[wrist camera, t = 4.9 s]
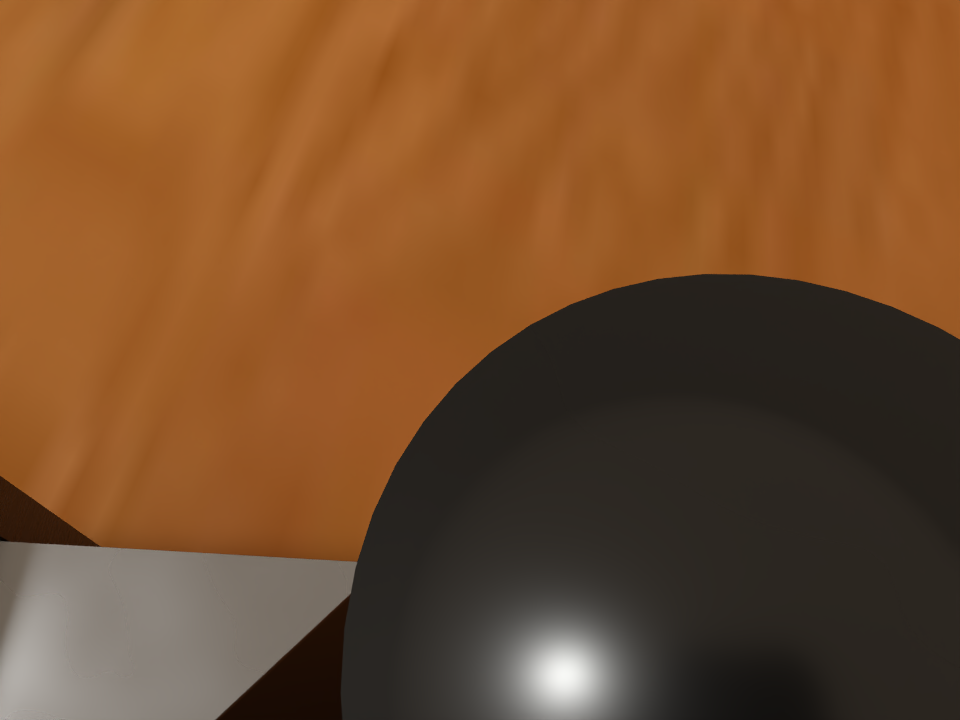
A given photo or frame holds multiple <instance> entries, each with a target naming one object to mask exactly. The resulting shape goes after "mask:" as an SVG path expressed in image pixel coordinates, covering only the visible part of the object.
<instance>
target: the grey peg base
mask: <svg viewBox="0 0 960 720" xmlns="http://www.w3.org/2000/svg"><path fill="white" fill-rule="evenodd" d="M350 594H351V595H350ZM349 595H350V600H349V606H348V611H347V616H346V622H345V627H344V643H343V661H342V678H341V705H342V720H960V339H958V338H956V337H954V336H952V335H951V334H949V333H947V332H945V331H944V330H942V329H940V328H938V327H936V326H934V325H931V324H929V323H927V322H925V321H923V320H920V319H918V318H916V317H914V316H911V315H909V314H907V313H905V312H902V311H900V310H898V309H896V308H893V307H891V306H888V305H885V304H882V303H879V302H876V301H873V300H870V299H867V298H864V297H861V296H858V295H855V294H852V293H849V292H846V291H842V290H838V289H834V288H829V287H825V286H820V285H816V284H812V283H807V282H803V281H798V280H791V279H782V278H774V277H765V276H757V275H729V274H701V275H692V276H682V277H673V278H663V279H656V280H652V281H647V282H643V283H638V284H634V285H629V286H625V287H621V288H616V289H612V290H610V291H607V292H604V293H601V294H599V295H596V296H593V297H590V298H587V299H585V300H582V301H579V302H576V303H573V304H571V305H569V306H567V307H565V308H563V309H561V310H559V311H557V312H555V313H553V314H551V315H549V316H547V317H545V318H543V319H541V320H539V321H537V322H535V323H533V324H531V325H530V326H528V327H527V328H525V329H524V330H522V331H521V332H519V333H518V334H517V335H515V336H514V337H512V338H511V339H509V340H508V341H506V342H505V343H503V344H502V345H500V346H499V347H498V348H496V349H495V350H493V351H492V352H491V353H489V354H488V355H487V356H486V357H485V358H484V359H483V360H482V361H481V362H479V363H478V364H477V365H476V366H475V367H474V368H473V369H472V370H471V371H469V372H468V373H467V374H466V375H465V376H464V377H463V378H462V379H461V380H459V381H458V382H457V383H456V384H455V385H454V387H453V388H452V389H451V390H450V391H449V392H448V394H447V395H446V396H445V397H444V398H443V399H442V401H441V402H440V403H439V404H438V405H437V407H436V408H435V409H434V410H433V411H432V412H431V414H430V415H429V416H428V417H427V418H426V419H425V421H424V422H423V424H422V425H421V427H420V428H419V430H418V431H417V433H416V434H415V436H414V437H413V439H412V441H411V442H410V444H409V445H408V447H407V448H406V450H405V451H404V453H403V455H402V456H401V458H400V459H399V461H398V462H397V464H396V466H395V468H394V470H393V472H392V474H391V476H390V478H389V481H388V483H387V485H386V487H385V489H384V491H383V493H382V495H381V498H380V500H379V502H378V504H377V506H376V508H375V510H374V512H373V515H372V518H371V521H370V524H369V527H368V531H367V534H366V537H365V540H364V543H363V546H362V549H361V552H360V555H359V559H358V562H348V561H331V560H314V559H296V558H279V557H262V556H245V555H228V554H211V553H193V552H176V551H159V550H142V549H125V548H108V547H90V546H73V545H56V544H39V543H22V542H4V541H0V720H215V719H216V718H217V717H218V716H219V715H221V714H222V713H223V712H224V711H225V710H226V709H227V708H228V707H229V706H230V705H231V704H232V703H233V702H235V701H236V700H237V699H238V698H239V697H240V696H241V695H242V694H243V693H244V692H245V691H246V690H247V689H249V688H250V687H251V686H252V685H253V684H254V683H255V682H256V681H257V680H258V679H259V678H260V677H261V676H262V675H264V674H265V673H266V672H267V671H268V670H269V669H270V668H271V667H272V666H273V665H274V664H275V663H276V662H278V661H279V660H280V659H281V658H282V657H283V656H284V655H285V654H286V653H287V652H288V651H289V650H290V649H292V648H293V647H294V646H295V645H296V644H297V643H298V642H299V641H300V640H301V639H302V638H303V637H304V636H305V635H307V634H308V633H309V632H310V631H311V630H312V629H313V628H314V627H315V626H316V625H317V624H318V623H319V622H321V621H322V620H323V619H324V618H325V617H326V616H327V615H328V614H329V613H330V612H331V611H332V610H333V609H335V608H336V607H337V606H338V605H339V604H340V603H341V602H342V601H343V600H344V599H345V598H346V597H347V596H349Z"/></svg>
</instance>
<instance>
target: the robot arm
mask: <svg viewBox="0 0 960 720" xmlns="http://www.w3.org/2000/svg"><path fill="white" fill-rule="evenodd" d="M350 595H351V594H350ZM350 595H349V596H347V597H346V598H345V599H344V600H343V601H342V602H341V603H340V604H339V605H338V606H337V607H336V608H335V609H333V610H332V611H331V612H330V613H329V614H328V615H327V616H326V617H325V618H324V619H323V620H322V621H321V622H319V623H318V624H317V625H316V626H315V627H314V628H313V629H312V630H311V631H310V632H309V633H308V634H307V635H305V636H304V637H303V638H302V639H301V640H300V641H299V642H298V643H297V644H296V645H295V646H294V647H293V648H292V649H290V650H289V651H288V652H287V653H286V654H285V655H284V656H283V657H282V658H281V659H280V660H279V661H278V662H276V663H275V664H274V665H273V666H272V667H271V668H270V669H269V670H268V671H267V672H266V673H265V674H264V675H262V676H261V677H260V678H259V679H258V680H257V681H256V682H255V683H254V684H253V685H252V686H251V687H250V688H249V689H247V690H246V691H245V692H244V693H243V694H242V695H241V696H240V697H239V698H238V699H237V700H236V701H235V702H233V703H232V704H231V705H230V706H229V707H228V708H227V709H226V710H225V711H224V712H223V713H222V714H221V715H219V716H218V717H217V718H216V719H215V720H342V705H341V678H342V661H343V643H344V627H345V622H346V616H347V611H348V606H349V600H350Z"/></svg>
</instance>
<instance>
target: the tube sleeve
mask: <svg viewBox="0 0 960 720" xmlns="http://www.w3.org/2000/svg"><path fill="white" fill-rule="evenodd" d="M0 541H4V542H22V543H39V544H56V545H73V546H90V547H100V546H99V545H97V544H96V543H94V542H93V541H92V540H90V539H89V538H87V537H86V536H85V535H83V534H82V533H80V532H79V531H77V530H76V529H75V528H73V527H72V526H70V525H69V524H68V523H66V522H65V521H63V520H62V519H60V518H59V517H58V516H56V515H55V514H53V513H52V512H51V511H49V510H48V509H46V508H45V507H43V506H42V505H41V504H39V503H38V502H36V501H35V500H34V499H32V498H31V497H29V496H28V495H27V494H25V493H24V492H22V491H21V490H19V489H18V488H17V487H15V486H14V485H12V484H11V483H10V482H8V481H7V480H5V479H4V478H2V477H1V476H0Z"/></svg>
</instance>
